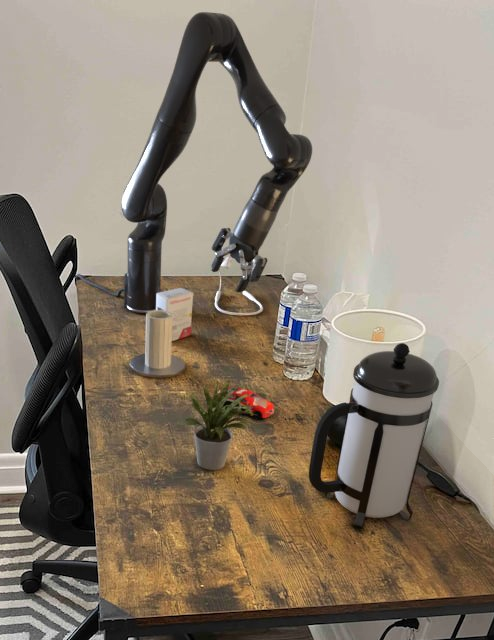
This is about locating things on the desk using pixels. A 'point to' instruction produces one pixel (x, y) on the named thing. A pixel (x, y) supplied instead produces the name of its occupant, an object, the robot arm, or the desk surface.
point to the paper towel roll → (158, 339)
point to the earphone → (248, 295)
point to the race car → (250, 403)
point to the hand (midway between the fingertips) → (226, 281)
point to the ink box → (177, 310)
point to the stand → (142, 369)
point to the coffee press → (378, 434)
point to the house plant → (215, 427)
